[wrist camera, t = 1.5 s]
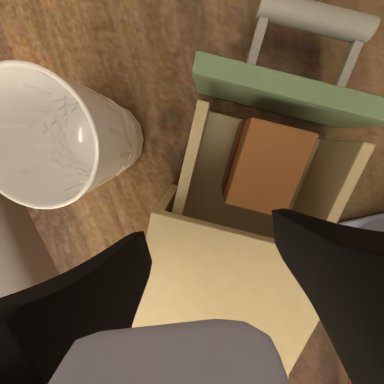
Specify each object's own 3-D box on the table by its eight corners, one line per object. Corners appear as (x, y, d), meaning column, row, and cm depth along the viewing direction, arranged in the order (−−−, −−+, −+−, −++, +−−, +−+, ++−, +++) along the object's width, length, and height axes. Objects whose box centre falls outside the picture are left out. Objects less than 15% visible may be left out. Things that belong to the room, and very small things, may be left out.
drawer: (213, 17, 16) (217, -50, 10) (367, 56, 16) (462, 11, 10) (169, 215, 22) (154, 247, 16) (285, 245, 21) (316, 289, 15)
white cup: (59, 129, 21) (-69, 126, 11) (114, 77, 19) (18, 20, 9) (110, 189, 22) (35, 232, 13) (165, 146, 20) (128, 158, 11)
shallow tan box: (171, 183, 21) (150, 211, 14) (299, 216, 21) (352, 263, 14) (147, 291, 26) (122, 359, 18) (255, 318, 26) (275, 398, 18)
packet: (239, 120, 17) (251, 115, 13) (289, 133, 17) (320, 133, 13) (220, 186, 19) (224, 203, 14) (265, 197, 19) (284, 219, 14)
